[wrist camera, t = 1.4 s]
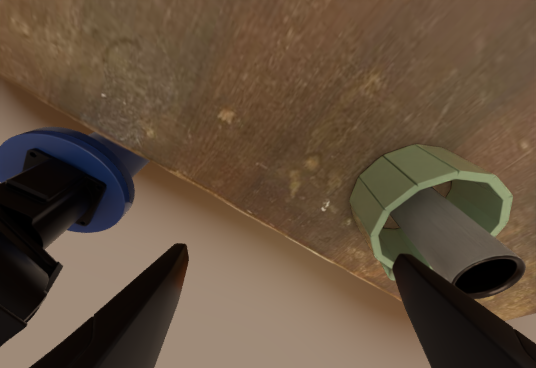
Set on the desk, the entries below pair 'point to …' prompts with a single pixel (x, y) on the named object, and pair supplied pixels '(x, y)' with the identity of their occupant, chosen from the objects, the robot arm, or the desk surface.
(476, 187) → the mug
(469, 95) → the desk surface
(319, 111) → the desk surface
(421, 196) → the grey hollow cylinder
